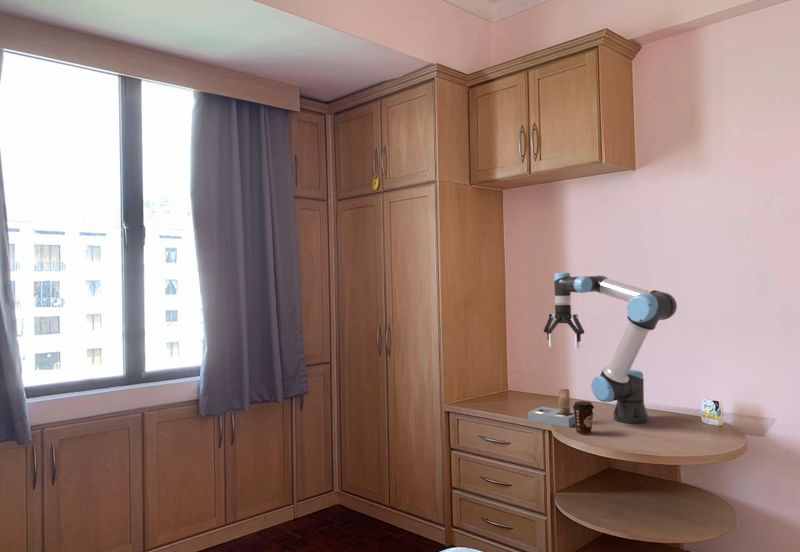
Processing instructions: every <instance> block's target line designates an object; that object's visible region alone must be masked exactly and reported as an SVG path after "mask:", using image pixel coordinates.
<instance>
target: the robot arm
mask: <svg viewBox="0 0 800 552" xmlns="http://www.w3.org/2000/svg"><path fill="white" fill-rule="evenodd" d="M553 276H554V278H553V279H554V280H553V285H554V304H555V305H554V313H555V314H554V313H548V319H547V321H546V324H545V326H544V328H543V331H542V332H544V333H546V335H547V341H548V347H549V348H552V347H553V346H554V340H553V339H554V337H553V335H554V333H552V332H553V331H554V330H555V328H556V327H557V326H558V325H559V324H567V325H568V326H569V327H570V328H571V329H572V331H573V332H574V334H575V335H574V345H575V347H574V348H575V350H576V349H577V350H579V349H580V342H581V341H582V340H581V339H582V338H581V335H583V334H585V330H584V328H583V326H582V323H581V322H580V320H579V317H578V314H576V313H575V314H572V305H571V303H572V302H571V299H572V298H571V293H580V294H585V293H591V292H592V293H593V292H595V293H599V294H603V295H605V296H609V297H612V298H615V299H618V300H621V301H624V302H627V305H626V311H627V319H626V320H627V321H628V324H627V326H626V328H625V329H624V333H623V334H622V336H621V339H620V341H619V343H618V345H617V347H616V350H615V351H614V354H613V356H612V358H611V360H610V362H609V365H606V366H604V367H602V370H601V372H600V374H599V375H596V376H595V377H594V378H593V379H592V380H591V384H590V387H591V388H590V389H591V391H592V394H593V395H594V397H595V398H596V399H597V400H598V401H600V402H603V403H608V402H609V403H611V402H614V401H616V404H615V407H614V410H613V413H612V414H613V415H612V419H613V420H615V421H616V422H620V423H626V424H645V423H648V422H649V414H648V411H647V409H646V405H645V395H644V387H645V385H644V380H645V379H644V373H643V372H642V371H640V370H637V369H631V368H632V366H633V364H634V363H635V360H636V358H637V356H638V354H639V353H640V350H641V348H642V346H643V344H644V342H645V340H646V338H647V336H648V334H649V332H651V331H653V330H655V329H656V327H657V325H658V323H659V321H665V320H668V319H670V318H672V317H673V316H674V315H675V313H676V311H677V308H678V304H677V301H676V299H675V297H674V296H673V295H671V294H669V293H668V292H664V291H660V290H656V289H653V290H648V289H643V288H642V287H637V286H634V285H629V284H628V283H624V282H620V281H617V280H613V279H610V278H608V277H607V276H605V275H590V276H587V275H586V276H582V275H581V276H571V273H570V272H556V273H554V275H553ZM554 318H555V320H554ZM553 320H554V322H553ZM573 322H574V323H573ZM551 324H552V325H551Z"/></svg>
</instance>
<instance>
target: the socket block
mask: <svg viewBox="0 0 800 552" xmlns="http://www.w3.org/2000/svg"><path fill="white" fill-rule="evenodd" d="M527 420H528V421H529V422H532V423H533V422H534V423H541V424H547V425H551V426H559V427H564V428H571V427H573V426H576V424H575V415H574V410H570V415H569V416H565V415H559V408H552V407H545V406H540V407H537V408H535V409H533V410H529V411H528V412H527Z"/></svg>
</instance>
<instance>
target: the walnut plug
mask: <svg viewBox="0 0 800 552" xmlns="http://www.w3.org/2000/svg"><path fill="white" fill-rule="evenodd" d="M570 405H571V404H570V389H567V388H560V389H558V409H559V415H565V416H569V415H570V411H571V410H570V409H571V407H570Z"/></svg>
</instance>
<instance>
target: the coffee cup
mask: <svg viewBox="0 0 800 552" xmlns="http://www.w3.org/2000/svg"><path fill="white" fill-rule="evenodd" d="M572 408H573V411H574V415H575V433H576V434H577V435H587V436H588V435H591V434H592V427H593V418H594V412H593V409H595V406H594V405H593V403H592V402H590V401H587V400H586V401H584V400H578V401H575V402H574V405H572Z"/></svg>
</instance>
